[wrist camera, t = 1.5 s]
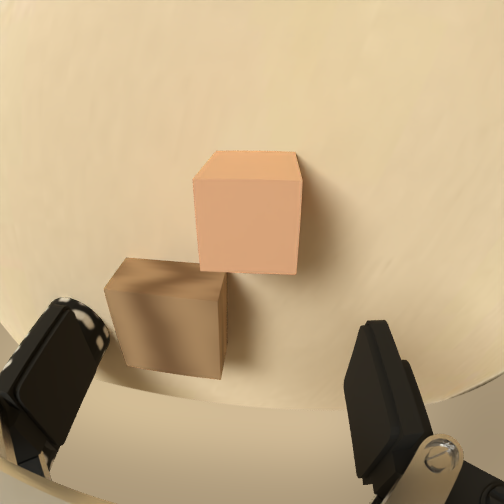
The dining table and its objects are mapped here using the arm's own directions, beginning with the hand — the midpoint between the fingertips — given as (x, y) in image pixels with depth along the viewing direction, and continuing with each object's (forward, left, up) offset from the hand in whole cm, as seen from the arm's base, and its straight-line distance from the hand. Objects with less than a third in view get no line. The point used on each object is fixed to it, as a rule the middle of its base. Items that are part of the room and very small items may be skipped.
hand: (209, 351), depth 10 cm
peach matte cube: (0, 0, -16) cm, 16 cm away
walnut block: (+7, +11, -16) cm, 20 cm away
